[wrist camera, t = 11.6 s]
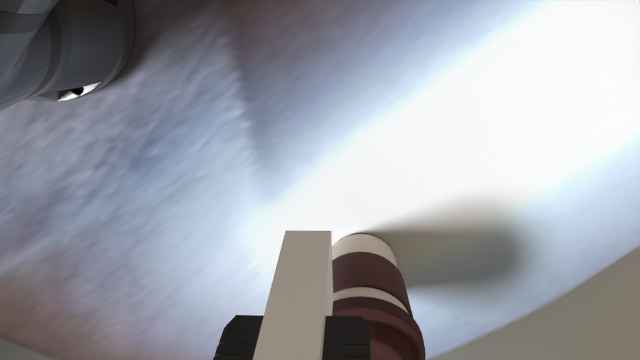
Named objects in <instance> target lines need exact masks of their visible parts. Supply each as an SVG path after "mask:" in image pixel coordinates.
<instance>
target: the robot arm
mask: <svg viewBox="0 0 640 360" xmlns="http://www.w3.org/2000/svg"><path fill="white" fill-rule="evenodd" d="M135 31H136V18H135V9H134V4H133V0H0V110H2V109H4V108H6V107H8V106H10V105H13V104H15V103H17V102H19V101H21V100H38V101H67V100H73V99H77V98H80V97H83V96H86V95H88V94H90V93H92V92H94V91H96V90H98V89H100V88H102V87H104V86H105V85H107V84H108V83H109V82H111V81H112V80H113V79H114V78H115V77H116V76H117V75H118V74H119V73H120V72H121V70H122V69H123V68H124V66H125V64H126V63H127V61H128V59H129V57H130V54H131V51H132V48H133V44H134V39H135ZM332 308H333V276H332V242H331V231H286V232H285V236H284V239H283V243H282V247H281V251H280V255H279V259H278V263H277V267H276V271H275V275H274V278H273V282H272V286H271V290H270V294H269V298H268V302H267V306H266V310H265V313H264V316H250V315H236V316H235V317H234V318H233V319H232V320H231V321H230V322H229V323H228V324H227V325H226V327H225V328H224V330H223V333H222V336H221V339H220V342H219V345H218V347H217V350H216V353H215V357H214V358H213V360H371V352H370V329H369V327H368V326H367V324H366V322H365V321H364V319H363V318H362V316H332Z"/></svg>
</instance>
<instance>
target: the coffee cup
mask: <svg viewBox="0 0 640 360" xmlns="http://www.w3.org/2000/svg"><path fill="white" fill-rule="evenodd" d="M332 276H333V308H332V316H362V318H363V319H364V321H365V322H366V324H367V326H368V327H369V329H370V352H371V360H425V347H424V341H423V337H422V333H421V331H420V328H419V326H418V325H417V323H416V322H415V320H414V319H413V315H412V311H411V307H410V303H409V300H408V296H407V292H406V288H405V284H404V280H403V277H402V275H401V273H400V271H399V269H398V265H397V261H396V258H395V255H394V253H393V251H392V250H391V248H390V247H389V246H388V245H387V244H386V243H385V242H384V241H382V240H381V239H379V238H377V237H374V236H371V235H366V234H355V235H350V236H347V237H344V238H343V239H341V240H339V241H338V242H336V243H335V244H334V245H333V246H332Z"/></svg>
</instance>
